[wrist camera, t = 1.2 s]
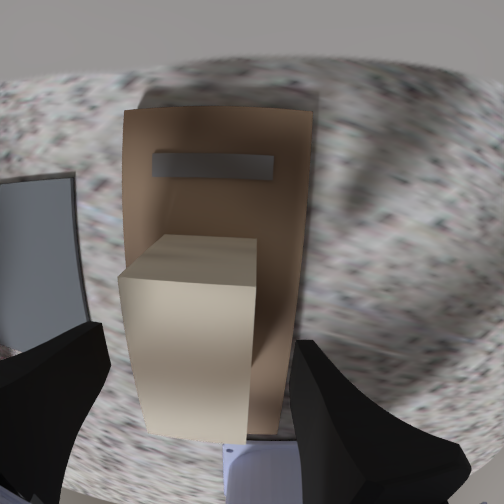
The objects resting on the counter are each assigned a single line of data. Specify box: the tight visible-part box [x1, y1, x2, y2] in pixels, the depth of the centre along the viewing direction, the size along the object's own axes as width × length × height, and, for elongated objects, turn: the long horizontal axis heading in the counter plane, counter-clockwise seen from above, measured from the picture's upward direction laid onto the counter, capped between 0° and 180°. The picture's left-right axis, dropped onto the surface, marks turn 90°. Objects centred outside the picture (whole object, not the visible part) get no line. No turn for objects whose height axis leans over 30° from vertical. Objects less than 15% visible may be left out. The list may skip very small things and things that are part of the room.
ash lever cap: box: [118, 234, 257, 445], centre depth 12 cm, size 7×4×5 cm, turn 177°
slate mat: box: [0, 178, 89, 352], centre depth 15 cm, size 12×10×1 cm
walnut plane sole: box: [122, 106, 313, 435], centre depth 15 cm, size 18×8×1 cm, turn 177°
